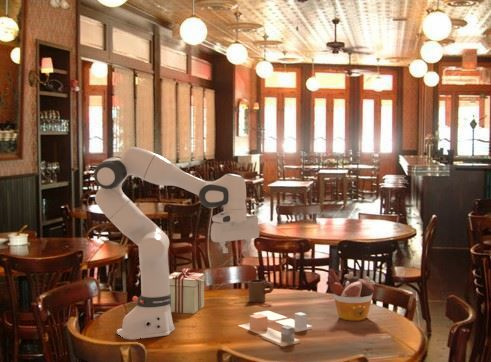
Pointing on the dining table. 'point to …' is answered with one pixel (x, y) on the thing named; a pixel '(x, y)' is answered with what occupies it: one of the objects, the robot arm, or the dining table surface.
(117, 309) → the dining table surface
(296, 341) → the white long base
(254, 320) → the terracotta block
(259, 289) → the mug
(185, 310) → the gift box
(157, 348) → the dining table surface
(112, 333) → the dining table surface
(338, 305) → the bucket of meat
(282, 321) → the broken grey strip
